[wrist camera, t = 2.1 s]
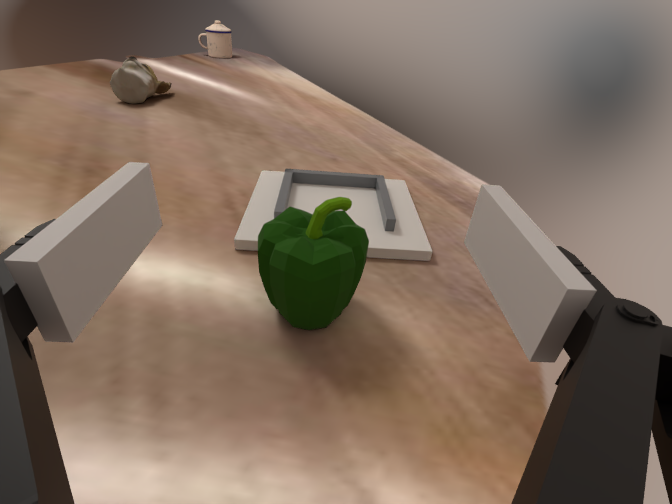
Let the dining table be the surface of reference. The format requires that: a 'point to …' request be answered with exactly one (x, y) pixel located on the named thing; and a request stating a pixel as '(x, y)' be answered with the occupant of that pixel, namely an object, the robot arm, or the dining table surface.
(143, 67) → the garlic bulb
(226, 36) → the teacup with lid
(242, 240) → the board
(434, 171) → the dining table surface
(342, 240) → the bell pepper
